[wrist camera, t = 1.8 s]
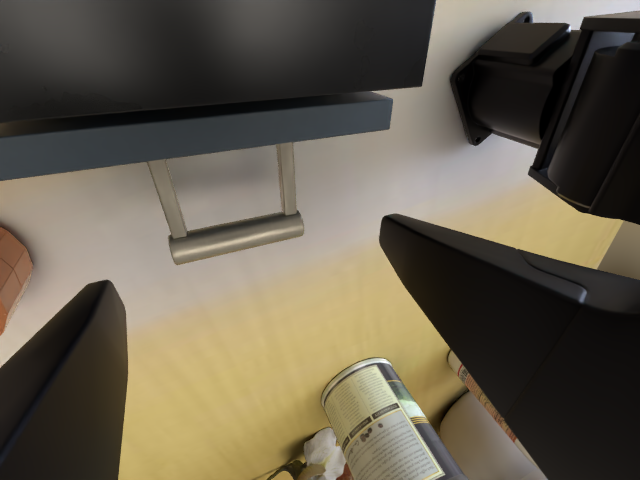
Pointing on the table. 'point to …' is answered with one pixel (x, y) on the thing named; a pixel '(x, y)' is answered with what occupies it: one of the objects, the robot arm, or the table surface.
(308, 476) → the artificial flower
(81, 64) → the black drawer cabinet
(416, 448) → the coffee can
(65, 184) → the table surface
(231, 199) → the table surface
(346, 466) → the bread roll
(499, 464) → the chamber pot
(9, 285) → the flower pot
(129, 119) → the drawer
